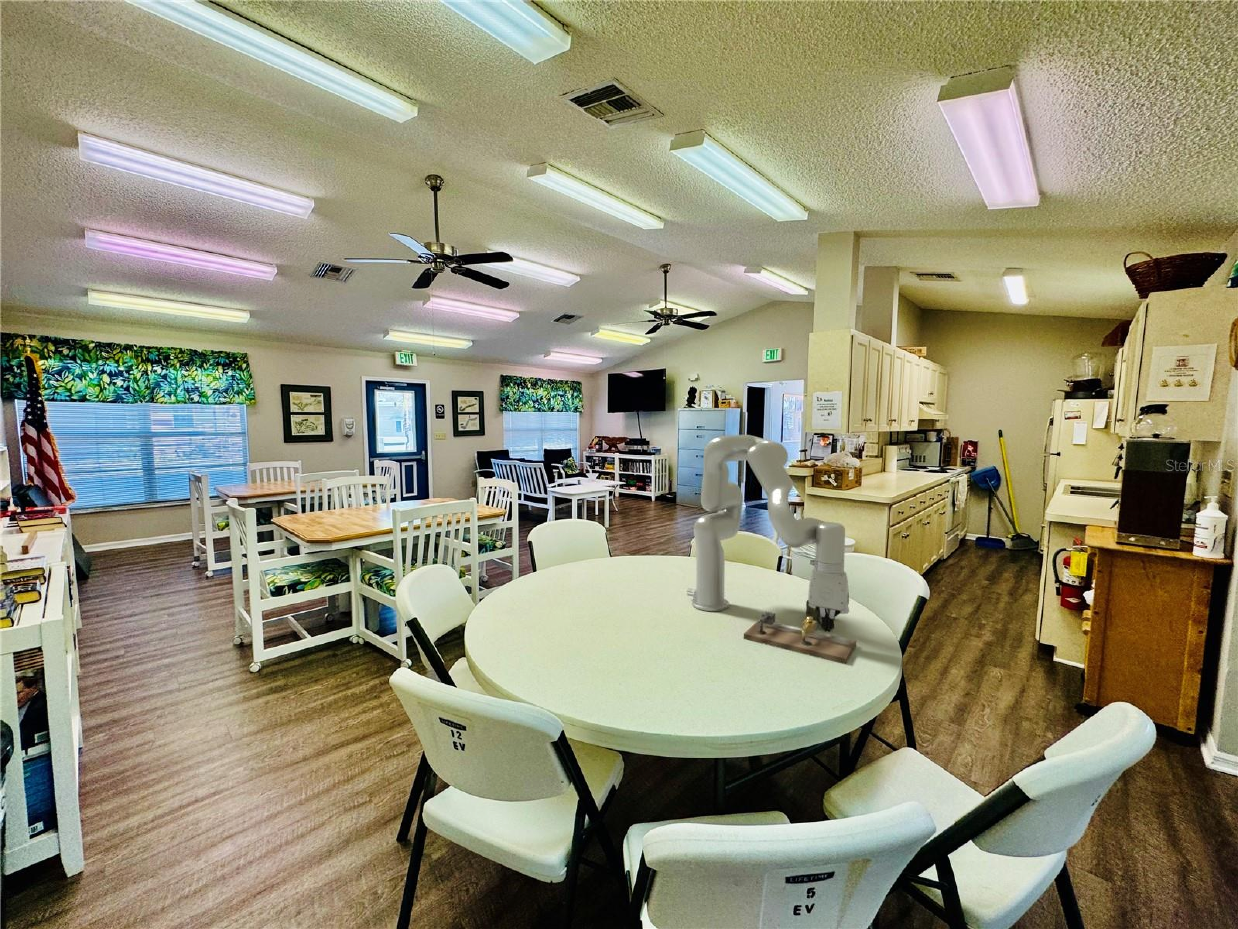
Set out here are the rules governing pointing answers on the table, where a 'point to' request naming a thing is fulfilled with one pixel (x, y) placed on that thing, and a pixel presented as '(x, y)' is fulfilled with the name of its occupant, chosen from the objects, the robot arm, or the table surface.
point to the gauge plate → (800, 639)
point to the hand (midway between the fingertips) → (828, 630)
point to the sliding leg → (808, 626)
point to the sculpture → (815, 614)
